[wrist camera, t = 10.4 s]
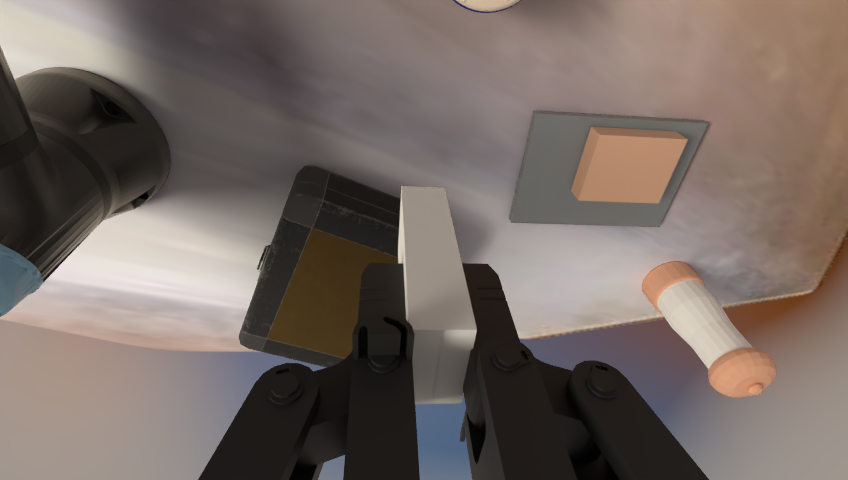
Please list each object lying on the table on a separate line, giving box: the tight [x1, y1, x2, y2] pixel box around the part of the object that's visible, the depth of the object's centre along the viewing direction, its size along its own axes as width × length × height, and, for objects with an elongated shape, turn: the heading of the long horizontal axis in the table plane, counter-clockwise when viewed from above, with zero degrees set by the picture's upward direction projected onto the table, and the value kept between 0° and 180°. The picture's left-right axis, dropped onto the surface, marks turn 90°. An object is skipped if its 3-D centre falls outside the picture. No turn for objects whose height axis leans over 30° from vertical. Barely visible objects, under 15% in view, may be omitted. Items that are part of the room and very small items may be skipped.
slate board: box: [509, 111, 708, 227], centre depth 51 cm, size 20×14×1 cm
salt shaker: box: [642, 261, 776, 397], centre depth 55 cm, size 7×7×19 cm
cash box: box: [239, 166, 401, 368], centre depth 54 cm, size 25×20×8 cm
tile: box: [571, 127, 688, 204], centre depth 49 cm, size 3×8×10 cm
